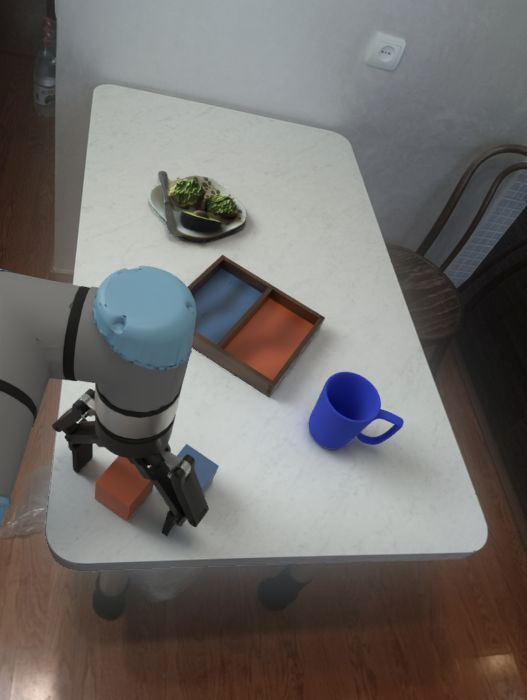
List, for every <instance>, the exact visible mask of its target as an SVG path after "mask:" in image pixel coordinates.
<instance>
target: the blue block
mask: <svg viewBox="0 0 527 700" xmlns="http://www.w3.org/2000/svg"><path fill="white" fill-rule="evenodd" d="M186 454H188V455H191V456H192V457H193V458H194V459H195V468H194V470H195V473H196V475H197V478H198V480H199V483H200V486H201V488H202V491H203V494H204V495H205V493H206V491H207V490H208V488H209V487H210V486H211V485H212V483H213V481H214V479H215V476H216V474H217V472H218V469H219V464H217V463H216V462H215V461H213V460H211V459H210V458H209V457H207V456H205V455H204V454H203V453H201V452H199V451H198V450H196V449H195V448H194V447H192V446H190V445H189V444H188V443H186V444H185V445H184V446H183V447H182V448H181V450H180V451H179V452H178V453H177V455H176V456H178V457H179V458H183V457H184V456H185V455H186Z"/></svg>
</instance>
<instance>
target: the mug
mask: <svg viewBox="0 0 527 700" xmlns="http://www.w3.org/2000/svg"><path fill="white" fill-rule="evenodd" d="M381 407H382V400H381V396H380V394H379V392H378V389H377V388H376V387H375V385H374V384H373V383H372V382H371V381H370V380H368V379H367V378H366V377H364V376H362V375H361V374H358V373H355V372H352V371H339V372H336V373H334V374H332V375H331V376H329V377H328V378H327V379H326V380H325V383H324V385H323V387H322V390H321V391H320V393H319V396H318V398H317V400H316V403H315V404H314V407H313V409H312V411H311V413H310V415H309V418H308V431H309V434H310V436H311V437H312V439H313V440H314V441H315V442H316V443H317V444H318V445H319V446H321V447H322V448H325V449H329V450H339V449H342V448H345V447H346V446H347V445H349V444H351V442H353V440H354V439H357V440H358V442H360V443H362V444H365V445H367V446H377V445H380V444H383V443H385V442H386V441H387V440H389V439H391V438H392V437H393V436H394V435H395V434H396V433H398V432H399V431H400V430H401V429H402V428H403V426H404V419H403V418H402V417H401V416H399V415H397V414H395V413H393V412H390V411H389V410H386V409H382V408H381ZM376 420H384V421H386V422H388V423H390V424H392V426H391V427H390V428H389V429H388V430H386V431H385V432H383V433H382V434H380V435H377V436H369V435H366V434H364V433H362V432H363V431H364V430H365V429H366V428H367V427H368V426H369V425H370V424H372V423H373V422H374V421H376Z"/></svg>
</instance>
